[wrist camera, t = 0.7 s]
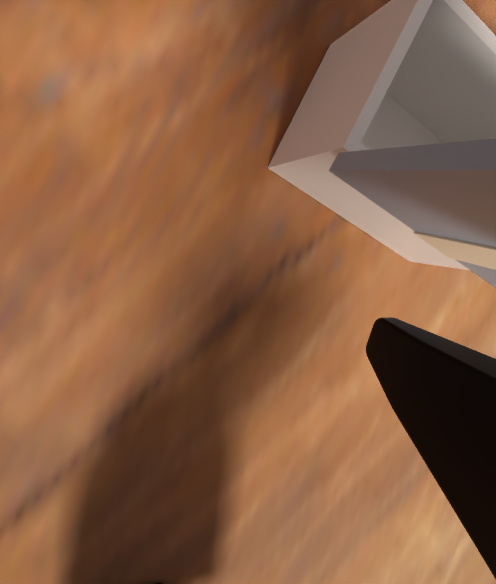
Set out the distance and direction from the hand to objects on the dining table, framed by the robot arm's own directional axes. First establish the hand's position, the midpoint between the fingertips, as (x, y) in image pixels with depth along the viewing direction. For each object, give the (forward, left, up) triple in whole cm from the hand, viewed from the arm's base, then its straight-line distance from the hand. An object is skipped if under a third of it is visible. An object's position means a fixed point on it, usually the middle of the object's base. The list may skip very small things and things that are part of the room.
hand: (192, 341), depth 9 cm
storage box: (+1, -16, -15) cm, 22 cm away
